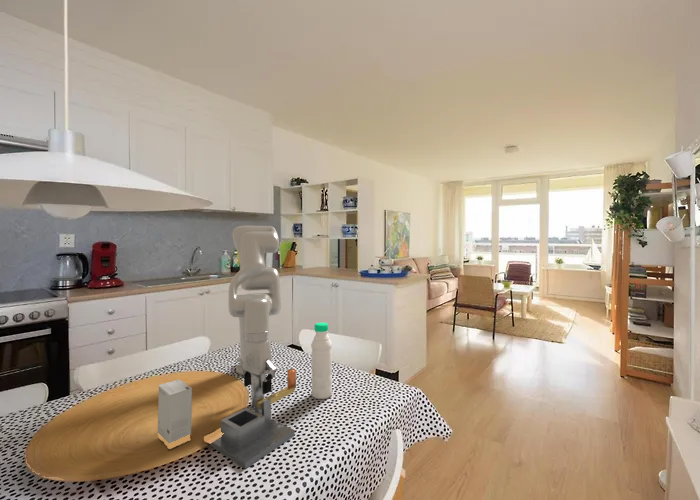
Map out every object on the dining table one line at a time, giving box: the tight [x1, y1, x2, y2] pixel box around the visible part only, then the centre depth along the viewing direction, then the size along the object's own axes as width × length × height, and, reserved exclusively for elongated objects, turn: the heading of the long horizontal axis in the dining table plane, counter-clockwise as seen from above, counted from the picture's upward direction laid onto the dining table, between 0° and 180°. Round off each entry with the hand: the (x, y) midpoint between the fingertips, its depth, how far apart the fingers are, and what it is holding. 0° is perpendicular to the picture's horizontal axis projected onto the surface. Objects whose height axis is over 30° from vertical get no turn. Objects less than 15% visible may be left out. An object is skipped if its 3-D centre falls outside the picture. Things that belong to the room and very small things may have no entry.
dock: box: [209, 396, 295, 470], centre depth 87 cm, size 18×16×9 cm
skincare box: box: [157, 378, 193, 443], centre depth 87 cm, size 8×6×15 cm
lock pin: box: [257, 368, 297, 410], centre depth 95 cm, size 3×14×7 cm, turn 144°
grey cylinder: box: [249, 372, 265, 408], centre depth 105 cm, size 5×5×12 cm
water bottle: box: [310, 322, 333, 400], centre depth 111 cm, size 7×7×25 cm
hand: (257, 388), depth 105 cm, fingers open, 8 cm apart
